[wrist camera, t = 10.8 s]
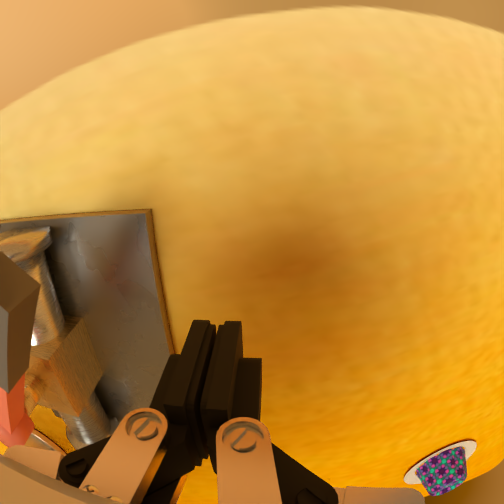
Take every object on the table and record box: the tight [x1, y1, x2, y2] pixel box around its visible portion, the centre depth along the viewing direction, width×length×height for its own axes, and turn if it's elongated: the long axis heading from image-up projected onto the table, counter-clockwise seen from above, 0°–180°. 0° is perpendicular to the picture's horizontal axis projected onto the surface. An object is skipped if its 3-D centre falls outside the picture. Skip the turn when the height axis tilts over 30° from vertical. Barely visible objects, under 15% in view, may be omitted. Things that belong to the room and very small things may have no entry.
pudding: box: [404, 441, 477, 496], centre depth 28 cm, size 12×12×5 cm
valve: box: [0, 209, 175, 450], centre depth 19 cm, size 24×18×10 cm
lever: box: [0, 251, 41, 448], centre depth 11 cm, size 16×4×2 cm, turn 147°
